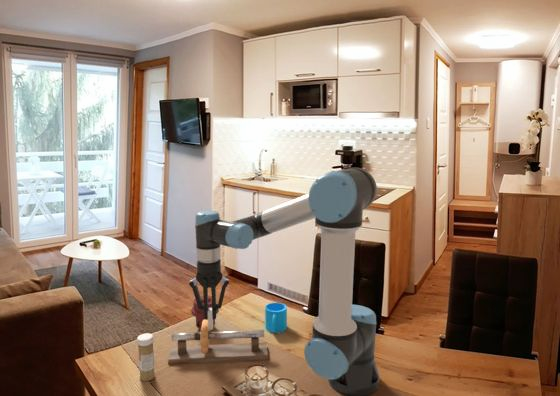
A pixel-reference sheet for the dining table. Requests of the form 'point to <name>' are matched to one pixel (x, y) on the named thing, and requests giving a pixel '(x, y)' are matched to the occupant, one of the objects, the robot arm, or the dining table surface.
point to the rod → (219, 335)
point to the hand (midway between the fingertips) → (210, 328)
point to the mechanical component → (201, 312)
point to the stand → (218, 352)
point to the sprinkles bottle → (146, 356)
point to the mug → (275, 317)
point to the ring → (204, 336)
